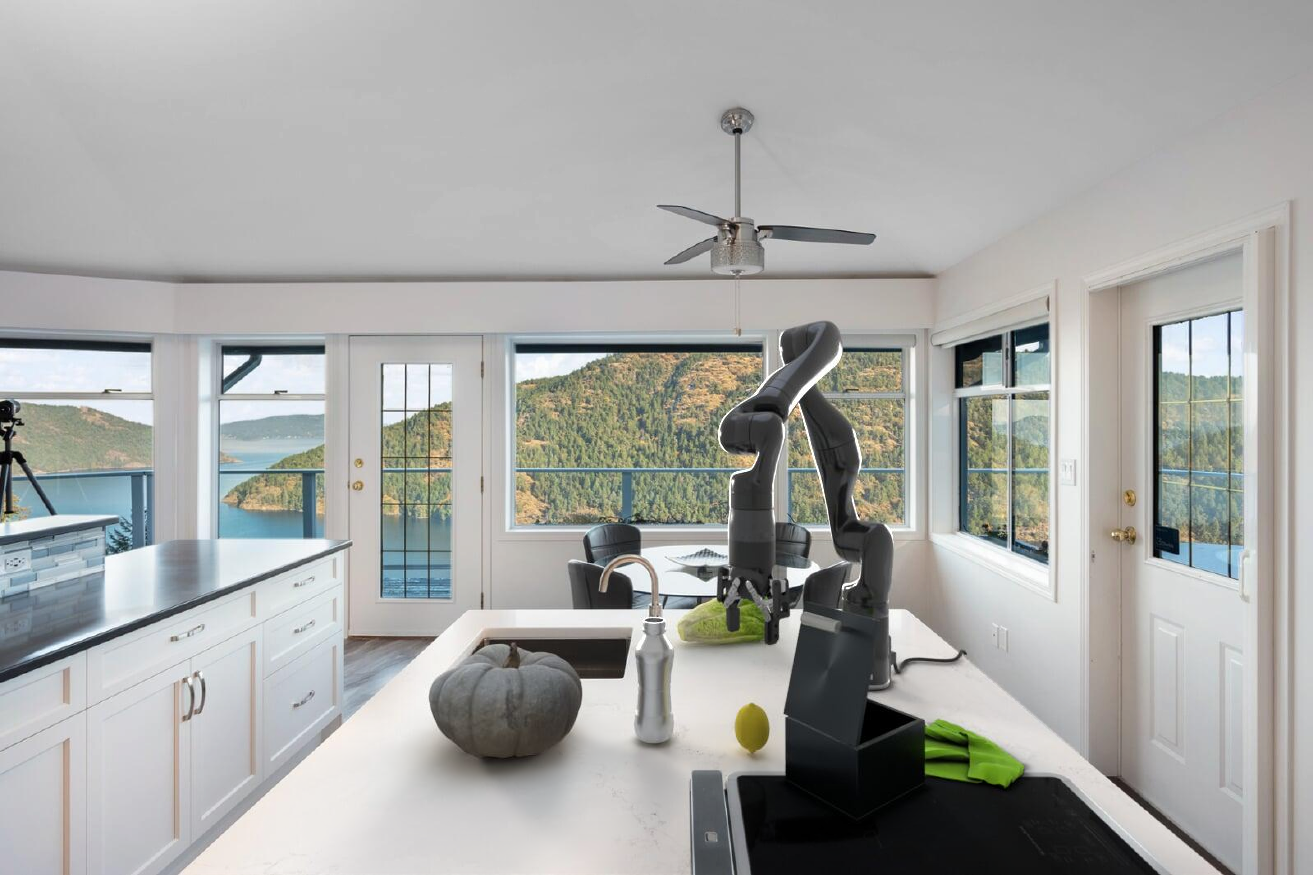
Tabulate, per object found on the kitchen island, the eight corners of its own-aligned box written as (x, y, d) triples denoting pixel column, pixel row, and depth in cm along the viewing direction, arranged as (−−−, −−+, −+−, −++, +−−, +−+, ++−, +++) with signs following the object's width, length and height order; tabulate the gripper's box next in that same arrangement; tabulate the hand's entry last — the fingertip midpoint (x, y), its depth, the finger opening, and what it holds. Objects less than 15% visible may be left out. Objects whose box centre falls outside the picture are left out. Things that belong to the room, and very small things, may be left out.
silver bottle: (633, 731, 113) (632, 615, 113) (672, 730, 113) (672, 614, 113) (635, 749, 106) (634, 626, 106) (676, 747, 107) (676, 625, 107)
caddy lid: (808, 601, 99) (785, 597, 96) (880, 620, 88) (858, 616, 86) (786, 714, 96) (763, 712, 93) (858, 747, 86) (835, 746, 83)
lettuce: (694, 667, 152) (672, 653, 165) (785, 639, 160) (757, 627, 174) (683, 607, 152) (662, 598, 166) (774, 582, 160) (747, 575, 174)
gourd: (415, 776, 93) (430, 648, 96) (428, 730, 116) (439, 629, 120) (590, 771, 99) (598, 652, 102) (568, 729, 123) (575, 633, 126)
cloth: (1025, 799, 92) (1025, 781, 92) (864, 761, 102) (864, 745, 102) (1025, 739, 109) (1025, 725, 109) (888, 713, 120) (887, 699, 120)
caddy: (852, 753, 105) (852, 692, 105) (925, 787, 95) (925, 719, 95) (785, 784, 96) (784, 717, 96) (857, 825, 85) (857, 750, 85)
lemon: (769, 762, 102) (768, 711, 102) (733, 759, 103) (733, 708, 103) (770, 746, 107) (770, 697, 107) (736, 743, 108) (736, 695, 108)
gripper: (801, 539, 102) (801, 644, 102) (738, 529, 113) (738, 623, 113) (767, 544, 97) (766, 653, 97) (705, 532, 109) (704, 630, 109)
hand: (751, 637), depth 105 cm, fingers open, 8 cm apart
